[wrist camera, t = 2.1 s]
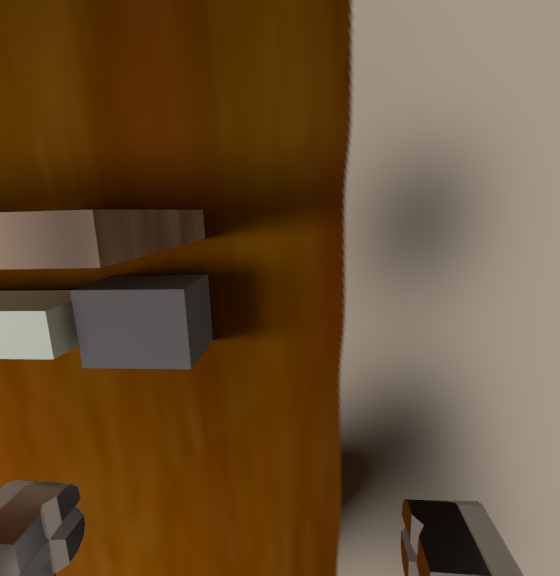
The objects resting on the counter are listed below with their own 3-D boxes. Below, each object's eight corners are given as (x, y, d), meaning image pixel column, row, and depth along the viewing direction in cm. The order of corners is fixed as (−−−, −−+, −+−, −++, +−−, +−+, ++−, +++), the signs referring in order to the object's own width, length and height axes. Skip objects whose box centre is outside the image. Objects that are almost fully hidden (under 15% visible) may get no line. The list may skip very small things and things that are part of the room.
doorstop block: (123, 339, 27) (82, 368, 22) (115, 275, 26) (70, 290, 21) (213, 339, 26) (191, 369, 21) (208, 274, 25) (183, 289, 20)
